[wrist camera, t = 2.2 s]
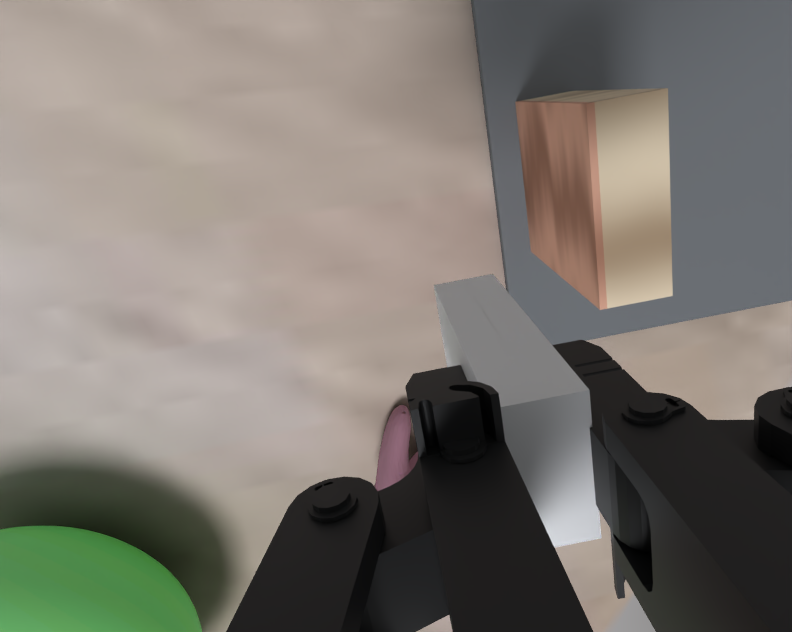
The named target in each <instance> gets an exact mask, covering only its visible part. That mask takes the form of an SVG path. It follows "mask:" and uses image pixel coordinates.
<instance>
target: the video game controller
mask: <svg viewBox="0 0 792 632" xmlns="http://www.w3.org/2000/svg"><path fill="white" fill-rule="evenodd" d="M410 431H411V420H410V414H409V410H408V408H407V407H406V406H405V405H399V406H398V407H396V408H395V409H394V410H393V411H392V413H391V415H390V417H389V420H388V422H387V425H386V427H385V431H384V434H383V438H382V443H381V448H380V453H379V459H378V468H377V476H376V483H375V485H374V487H375V488H376V489H377V491H379V490H382V489H384V488H387V487H389V486H391V485H393V484H394V483H396V482H398V481H400V480H401V479H402V478H404V477H405V476H406V475H408V474H409V473H410V471H411V470H412V469H413V468H414V467H415V464H416V462H417V460H418V451H417V452H416V453H415V454H414V455H413V456H412V458H411V459H410V460H409V453H408V449H409V440H410Z"/></svg>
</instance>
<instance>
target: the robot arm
mask: <svg viewBox="0 0 792 632" xmlns="http://www.w3.org/2000/svg"><path fill="white" fill-rule="evenodd" d="M434 290H435V296H436V302H437V308H438V314H439V320H440V326H441V332H442V338H443V344H444V350H445V356H446V363H447V367H446V368H441V369H436V370H431V371H426V372H420V373H415V374H413V375H412V377H411V378H410V380H409V382H408V383H407V385H406V392H407V397H408V403H409V408H410V413H411V418H412V423H413V428H414V434H415V439H416V444H417V449H418V460H417V462H416V464H415V467H414V468H413V469H412V470H411V471H410V473H409V474H408V475H406V476H405V477H404V478H402V479H401V480H400V481H398V482H396V483H394V484H393V485H391V486H389V487H387V488H384V489H382V490H379V491H377V489H376V488H375V487H374V486H373V484H372V483H370V482H368V481H366V480H363V479H361V478H355V477H339V478H334V479H328V480H325V481H322V482H319V483H317V484H315V485H313V486H310V487H309V488H308V489H306V490H305V491H303V492H302V493H301V494H299V495H298V496H297V497H296V498H295V499H294V501H293V502H292V503H291V505H290V506H289V507H288V509H287V511H286V513H285V515H284V517H283V519H282V521H281V523H280V525H279V527H278V529H277V531H276V533H275V535H274V537H273V539H272V541H271V543H270V545H269V547H268V549H267V551H266V553H265V555H264V557H263V559H262V561H261V563H260V565H259V567H258V569H257V571H256V573H255V575H254V577H253V579H252V581H251V583H250V585H249V587H248V589H247V591H246V593H245V595H244V597H243V599H242V601H241V603H240V605H239V607H238V609H237V611H236V613H235V615H234V617H233V619H232V621H231V623H230V625H229V627H228V629H227V631H226V632H416V631H418V630H420V629H422V628H424V627H426V626H428V625H430V624H432V623H433V622H435V621H437V620H439V619H441V618H443V617H445V616H447V615H450V620H451V625H452V630H453V632H593V630H592V628H591V626H590V624H589V621H588V619H587V617H586V615H585V613H584V611H583V608H582V606H581V604H580V602H579V600H578V598H577V596H576V593H575V591H574V589H573V587H572V585H571V583H570V580H569V578H568V576H567V574H566V572H565V570H564V567H563V565H562V563H561V561H560V559H559V557H558V554H557V552H556V550H555V548H554V547H559V546H564V545H569V544H574V543H580V542H585V541H590V540H595V539H600V538H601V528H600V515H599V510H600V512H601V514H602V515H603V517H604V519H605V520H606V522H607V523H608V525H609V527H610V529H611V543H612V556H613V570H614V584H615V590H616V594H617V598H618V599H620V598H625V592H624V582H625V579H626V580H627V582H628V584H629V585H630V587H631V589H632V591H633V592H634V595H635V596H636V598H637V599H638V601H639V603H640V605H641V606H642V608H643V610H644V611H645V613H646V615H647V617H648V619H649V620H650V622H651V624H652V626H653V627H654V629H655V631H656V632H792V387H787V388H783V389H778V390H774V391H769V392H767V393H765V394H764V395H762V396H760V397H759V398H758V399H757V401H756V403H755V406H754V420H707V419H706V418H705V417H704V416H703V415H702V414H700V413H699V412H698V411H697V410H696V409H695V408H694V407H693V406H691V405H690V404H688V403H687V402H685V401H683V400H682V399H680V398H678V397H674V396H670V395H667V394H663V393H651V392H646V391H645V390H644V389H643V388H642V387H641V386H640V385H639V384H638V383H637V382H636V381H635V380H634V379H633V378H632V377H631V376H630V375H629V374H628V373H627V372H626V371H625V370H624V369H623V370H622V368H621V366H620V365H619V364H618V363H617V362H616V361H615V360H612V357H611V356H609V355H608V354H607V353H606V352H605V351H604V350H603V349H602V348H601V347H599V346H597V345H594V344H592V343H589V342H586V341H584V340H576V341H571V342H566V343H561V344H556V345H552V344H551V343H550V342H549V341H548V340H547V338H546V337H545V336H544V335H543V334H542V332H541V331H540V330H539V329H538V328H537V326H536V325H535V324H534V323H533V322H532V320H531V319H530V318H529V317H528V316H527V314H526V313H525V312H524V311H523V310H522V308H521V307H520V306H519V305H518V304H517V302H516V301H515V300H514V299H513V298H512V296H511V295H510V294H509V293H508V292H507V290H506V289H505V288H504V287H503V286H502V284H501V283H500V282H499V281H498V280H497V278H496V277H495V276H494V275H493V274H490V275H484V276H479V277H474V278H469V279H464V280H458V281H453V282H448V283H443V284H438V285H434Z"/></svg>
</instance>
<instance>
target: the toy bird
mask: <svg viewBox="0 0 792 632" xmlns="http://www.w3.org/2000/svg"><path fill="white" fill-rule="evenodd" d="M0 632H202V628H201V624H200V621H199V618H198V615H197V612H196V610H195V607H194V605H193V603H192V601H191V599H190V597H189V596H188V594H187V592H186V591H185V589H184V588H183V586H182V585H181V584H180V583H179V581H178V580H177V579H176V578H175V577H174V576H173V575H172V573H171V572H170V571H168V570H167V569H166V568H165V567H164V566H163V565H162V564H160V563H159V562H158V561H157V560H155V559H154V558H152V557H151V556H149V555H148V554H146V553H145V552H143V551H141V550H139V549H138V548H136V547H134V546H132V545H130V544H128V543H125V542H123V541H121V540H118V539H116V538H113V537H110V536H107V535H104V534H101V533H97V532H93V531H89V530H84V529H79V528H72V527H63V526H23V527H13V528H6V529H0Z"/></svg>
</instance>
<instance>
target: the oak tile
mask: <svg viewBox="0 0 792 632" xmlns="http://www.w3.org/2000/svg"><path fill="white" fill-rule="evenodd" d="M515 105H516V114H517V124H518V133H519V143H520V152H521V162H522V172H523V181H524V191H525V200H526V210H527V219H528V229H529V238H530V248H531V252H532V253H533V254H534V255H536V256H537V257H538V258H539V259H540V260H541V261H543V262H544V263H545V264H546V265H547V266H549V267H550V268H551V269H552V270H553V271H554V272H556V273H557V274H558V275H559V276H560V277H562V278H563V279H564V280H565V281H566V282H568V283H569V284H570V285H571V286H572V287H573V288H575V289H576V290H577V291H578V292H579V293H581V294H582V295H583V296H584V297H585V298H586V299H588V300H589V301H590V302H591V303H592V304H594V305H595V306H596V307H597V308H598V309H600V310H603V309H608V308H613V307H618V306H623V305H628V304H634V303H639V302H644V301H649V300H654V299H659V298H665V297H670V296H673V286H672V243H671V199H670V155H669V112H668V88H657V89H621V90H586V91H569V92H564V93H559V94H554V95H548V96H543V97H538V98H533V99H527V100H522V101H517V102H515Z"/></svg>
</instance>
